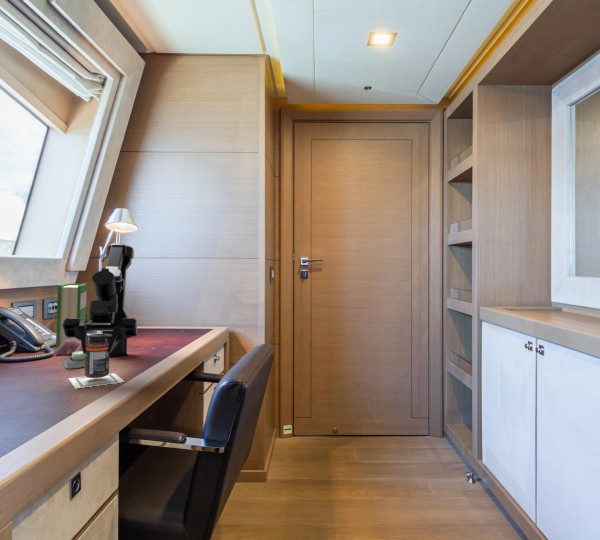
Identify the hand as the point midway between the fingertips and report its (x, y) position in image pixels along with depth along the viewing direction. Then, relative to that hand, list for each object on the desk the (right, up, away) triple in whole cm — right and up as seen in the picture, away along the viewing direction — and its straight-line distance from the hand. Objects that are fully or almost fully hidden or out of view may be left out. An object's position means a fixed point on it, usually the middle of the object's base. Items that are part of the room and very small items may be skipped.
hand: (96, 352), depth 113 cm
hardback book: (-33, -7, +47) cm, 58 cm away
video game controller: (-24, -8, +32) cm, 41 cm away
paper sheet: (-1, -8, +1) cm, 8 cm away
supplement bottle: (-1, -7, +1) cm, 7 cm away
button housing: (-15, -8, +19) cm, 25 cm away
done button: (-14, -6, +19) cm, 25 cm away
